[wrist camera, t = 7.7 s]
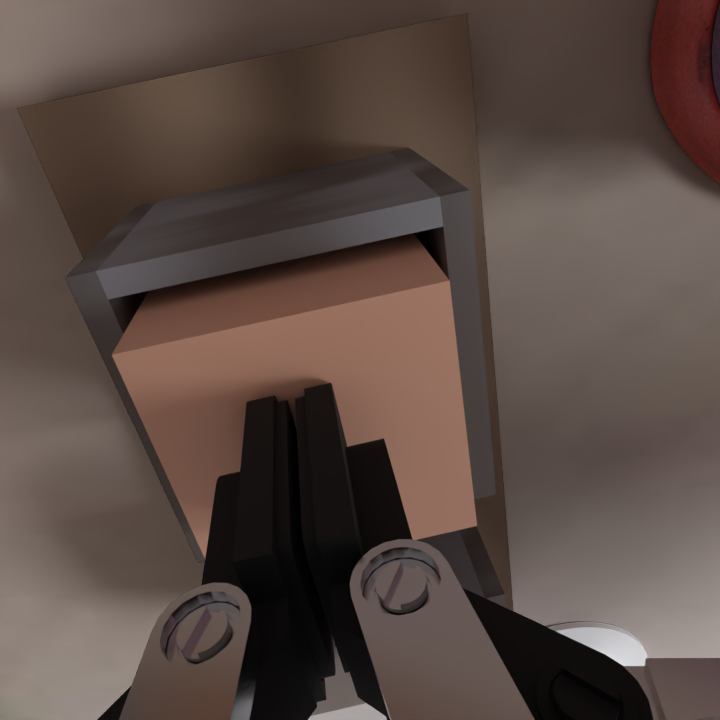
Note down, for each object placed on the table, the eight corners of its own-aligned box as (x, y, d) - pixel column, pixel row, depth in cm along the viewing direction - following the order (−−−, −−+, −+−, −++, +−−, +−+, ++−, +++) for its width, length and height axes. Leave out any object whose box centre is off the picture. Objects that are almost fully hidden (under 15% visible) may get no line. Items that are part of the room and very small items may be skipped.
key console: (447, 17, 17) (569, -12, 10) (500, 596, 29) (570, 766, 22) (45, 102, 16) (-133, 136, 9) (273, 648, 29) (270, 837, 22)
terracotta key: (391, 203, 15) (449, 280, 10) (420, 389, 18) (477, 525, 13) (171, 251, 15) (111, 354, 10) (236, 430, 18) (217, 585, 13)
